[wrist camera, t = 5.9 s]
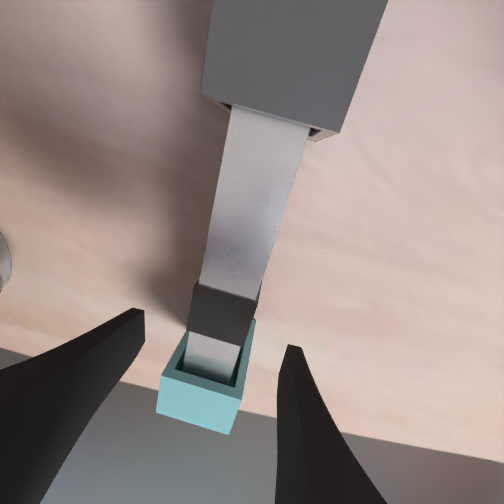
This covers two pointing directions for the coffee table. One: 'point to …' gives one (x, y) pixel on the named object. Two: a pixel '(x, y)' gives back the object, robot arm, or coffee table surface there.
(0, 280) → the coffee mug
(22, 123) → the coffee table surface
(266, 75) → the graphite sleeve
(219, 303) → the metal square rod
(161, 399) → the teal socket
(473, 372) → the coffee table surface
